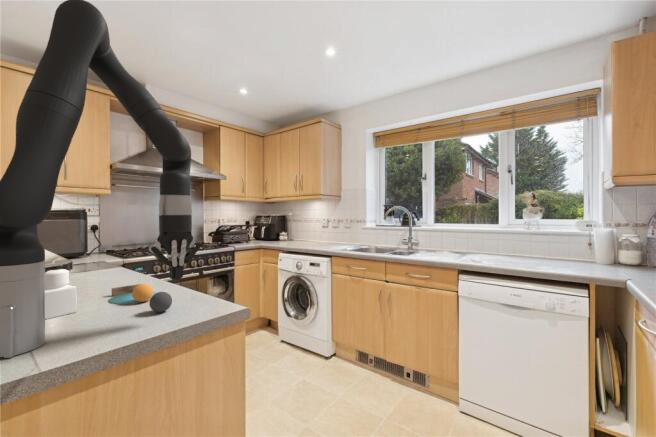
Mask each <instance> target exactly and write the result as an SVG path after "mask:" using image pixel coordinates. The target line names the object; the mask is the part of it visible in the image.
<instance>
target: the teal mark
mask: <svg viewBox="0 0 656 437" xmlns="http://www.w3.org/2000/svg"><path fill="white" fill-rule="evenodd" d="M156 293H158V292H157V291H153V295H154V294H156ZM153 295H152V296H153ZM150 299H151V298H150ZM150 299H149V300H148V301H145V302H150ZM145 302H144V303H145ZM108 303H110V304H113V305H133V304H139V303H140V304H141V303H142V302H138V301H136V300H135V299H134V298H133V296H132V293H127V294H122V295H118V296H111V298H109V299H108Z"/></svg>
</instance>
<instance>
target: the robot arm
mask: <svg viewBox="0 0 656 437" xmlns="http://www.w3.org/2000/svg"><path fill="white" fill-rule="evenodd" d="M51 25H52V26H51V29H50V34H49V37H48V40H47V44H46V47H45V50H44V52H43V55H42V57H41V58H40V60H39V63H38V65H37V67H36V69H35V71H34V73H33V76H32V78H31V80H30V83H29V85H28V87H27V88H26V91H25V93H24V96H23V98H22V101H21V102H20V104H19V107H18V111H17V114H16V121H15V146H14V152H13V154H12V157H11V160H10V162H9V164H8V165H7V168H6V170H5V172H4V173H3V175H2V177H1V178H0V357H4V358H3V359H11V358H13V357H16V356H17V355H18V356H19V355H21V354H24V353H27V352H31V351H33V350H35V349H37V348H40V347H41V346H43V345H44V344H45V342H46V320H45V270H46V251H45V248H44V246H43V245H42V243H41V241H40V239H39V236H38V225H39V224H42V222H44V221H45V220H46V218H47V217H49V214H50V213H51V211H52V208H53V204H54V199H55V195H56V190H57V184H58V180H59V175H60V171H61V168H62V165H63V162H64V161H65V158H66V156H67V154H68V151H69V148H70V146H71V144H72V141H73V138H74V136H75V134H76V131H77V129H78V125H79V123H80V121H81V118H82V116H83V112H84V108H85V102H86V95H87V88H88V87H87V84H88V74H89V69H90V70H91V71H92V72H93V73H94V74H95V75H96V76H97V77H98V78H99V79H100V80H101V82H103V83H104V84H105V86H106V87H107V88H108V89H109V90H110V92H111V93H112V94H113V95H114V96H115V98H116V99H117V100H118V102H119V103H120V104H121V106H122V107H123V108H124V110H125V111H126V112H127V113H128V115H129V116H130V117H131V118H132V119H133V121H134V122H135V123H136V125H137V126H138V127H139V128H140V129H141V131H143V132H144V133H145V134H146V136H147V138H148V139H149V141H150V142H151V143H152V145H153V146H154V148H155V149H156V151H157V152H158V153H159V154H160V155H161V158H162V159H161V160H162V172H161V174H160V177H159V178H160V179H159V201H158V233H159V234H158V237H157V238H156V239H157V240H156V242H154V244H152V245H149V246H148V247H147V249H148V251H149V253H151V254H152V255H153V256H154V257H155V258H156V259H157V261H158V262H159V263H160V264H161V265H165V266H168V268H169V270H168V272H169V279H170V280H171V281H173V282H177V281H178V282H179V281H181V280H182V278H183V276H184V266H185V264H188V263H190V262H191V261H192V260H193V258H194V256H195V255H196V254H197V252H198V251H199V250H200V248H201V247H202V243H200V242H199V241H198V242H197V240H195V239H194V236H193V234H192V229H193V226H192V225H193V222H192V220H193V218H192V217H193V215H192V213H193V208H192V207H193V206H192V199H191V179H190V178H191V177H190V176H191V168H192V167H191V165H192V150H191V146H190V144H189V142H188V140H187V139H186V137H185V136H184V134H182V133H181V131H180V130H179V129H178V128H177V127H176V125H175V124H174V123H173V122H172V121H171V120H170V119H169V117H168V116H167V114H166V112H165V111H164V109H163V108H162V107H161V105H160V104H159V103H158V101H157V100H156V99H155V98H154V96H153V95H152V94H151V93H150V91H149V90H148V89H147V88H146V87H145V86H144V85H143V84H141V83H140V82H139V81H138V80H137V79H135V77H134V76H132V75H131V74H130V73H129V72H128V71H127V70H126V68H125V67H124V66H123V65H122V63H121V62H120V60H119V59H118V57H117V55H116V53H115V52H114V50H113V48H112V46H111V38H110V33H109V27H108V23H107V20H106V19H105V17H104V15H103V13H101V11H100V10H99V9H98V8H97V6H95V5H94V4H92V3H91V2H89V1H87V0H65V1H63V2H61V3H60V4H59V5H58V7H57V8H56V9H55V11H54V17H53V20H52V24H51ZM162 249H163V250H164V252H166V255H164V254H163V253H162Z"/></svg>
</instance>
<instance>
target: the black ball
mask: <svg viewBox="0 0 656 437" xmlns="http://www.w3.org/2000/svg"><path fill="white" fill-rule="evenodd" d="M172 303H173V298H172V296H171V294H170V293H168V292H166V291H159V292H158V293H156V294H154V295H153V296H152V297H151V299H150V301H149V303H148V304H149V307H150V309H151V310H152V311H154V312H156V313H164V312H166V311H167V310H169V309H170V307H172V306H171V305H172Z"/></svg>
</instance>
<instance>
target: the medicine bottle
mask: <svg viewBox="0 0 656 437" xmlns="http://www.w3.org/2000/svg"><path fill="white" fill-rule="evenodd" d="M77 289H78V288H77V286H74V285H71V284H70V270H69V269H66V268H61V267H60V268H48V269H45V321H47V320H49V319H50V320H51V319H54V318H58V317H62V316H68V315H70V314H71V315H73V314H75V313H77V311H78V310H77V307H78V305H77V300H78V299H77V297H78V296H77Z"/></svg>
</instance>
